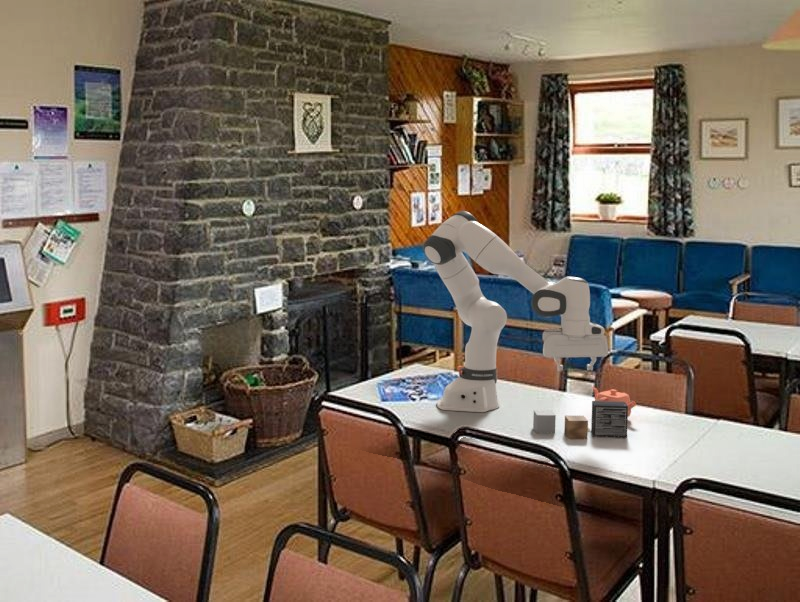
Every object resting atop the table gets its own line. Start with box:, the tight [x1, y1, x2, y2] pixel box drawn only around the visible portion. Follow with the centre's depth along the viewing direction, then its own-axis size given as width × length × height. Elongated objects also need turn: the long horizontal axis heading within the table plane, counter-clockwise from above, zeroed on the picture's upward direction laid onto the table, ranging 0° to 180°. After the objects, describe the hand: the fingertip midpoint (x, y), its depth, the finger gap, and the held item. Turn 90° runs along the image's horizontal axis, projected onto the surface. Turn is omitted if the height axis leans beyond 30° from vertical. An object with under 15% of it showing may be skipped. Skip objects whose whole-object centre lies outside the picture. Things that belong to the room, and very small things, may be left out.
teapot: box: [591, 386, 637, 418], centre depth 275 cm, size 14×12×10 cm
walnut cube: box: [563, 415, 589, 440], centre depth 254 cm, size 6×6×6 cm
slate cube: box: [532, 409, 556, 434], centre depth 260 cm, size 6×6×6 cm
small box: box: [590, 400, 629, 439], centre depth 256 cm, size 11×6×10 cm, turn 85°
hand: (575, 370), depth 256 cm, fingers open, 8 cm apart
